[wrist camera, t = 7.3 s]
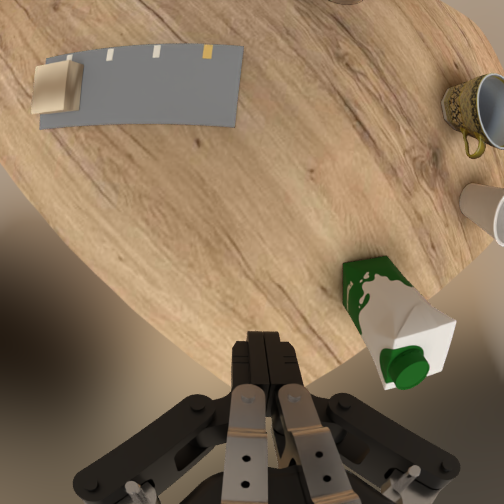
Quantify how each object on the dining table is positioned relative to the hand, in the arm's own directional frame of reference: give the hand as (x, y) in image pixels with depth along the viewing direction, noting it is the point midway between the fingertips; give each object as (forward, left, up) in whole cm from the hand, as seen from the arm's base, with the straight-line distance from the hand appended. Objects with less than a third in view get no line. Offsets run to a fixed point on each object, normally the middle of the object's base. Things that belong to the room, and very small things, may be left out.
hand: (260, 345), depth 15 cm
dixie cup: (-6, +36, -26) cm, 45 cm away
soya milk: (+9, +19, -26) cm, 34 cm away
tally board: (-15, -15, -26) cm, 34 cm away
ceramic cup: (-18, +29, -26) cm, 43 cm away
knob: (-15, -24, -24) cm, 37 cm away
